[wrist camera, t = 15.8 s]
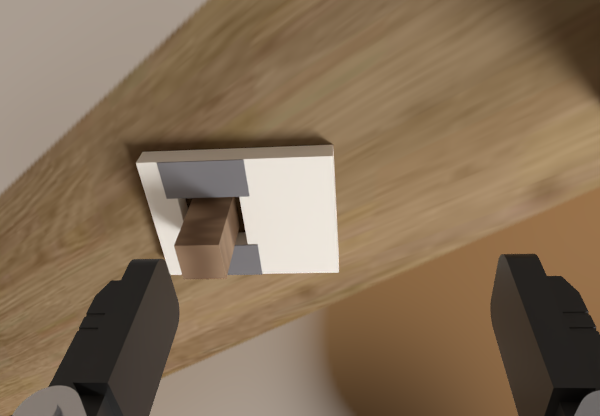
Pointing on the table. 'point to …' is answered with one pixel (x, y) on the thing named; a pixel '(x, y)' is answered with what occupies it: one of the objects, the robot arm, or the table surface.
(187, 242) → the brown wooden block
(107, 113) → the table surface
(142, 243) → the table surface
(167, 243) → the subfloor panel
